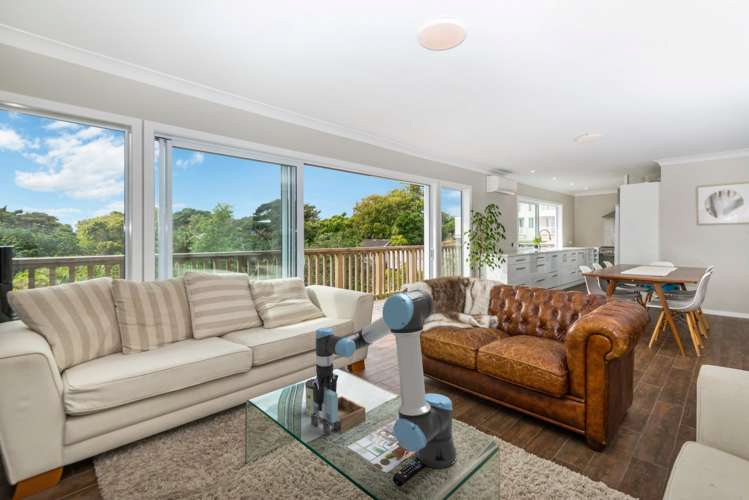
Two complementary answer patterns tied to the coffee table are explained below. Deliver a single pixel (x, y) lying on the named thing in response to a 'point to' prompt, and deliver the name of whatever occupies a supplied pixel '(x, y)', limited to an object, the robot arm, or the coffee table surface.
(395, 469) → the coffee table surface
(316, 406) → the door
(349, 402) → the cabinet
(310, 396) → the coffee can
